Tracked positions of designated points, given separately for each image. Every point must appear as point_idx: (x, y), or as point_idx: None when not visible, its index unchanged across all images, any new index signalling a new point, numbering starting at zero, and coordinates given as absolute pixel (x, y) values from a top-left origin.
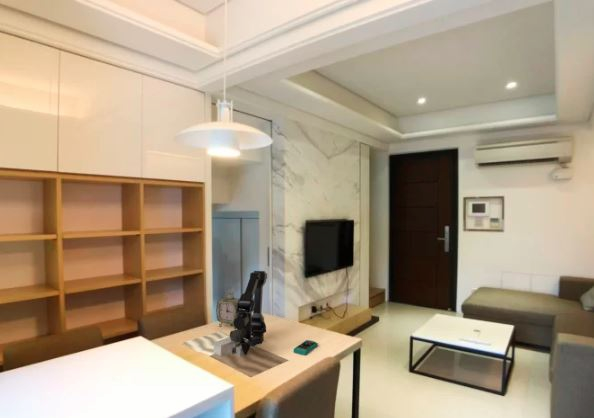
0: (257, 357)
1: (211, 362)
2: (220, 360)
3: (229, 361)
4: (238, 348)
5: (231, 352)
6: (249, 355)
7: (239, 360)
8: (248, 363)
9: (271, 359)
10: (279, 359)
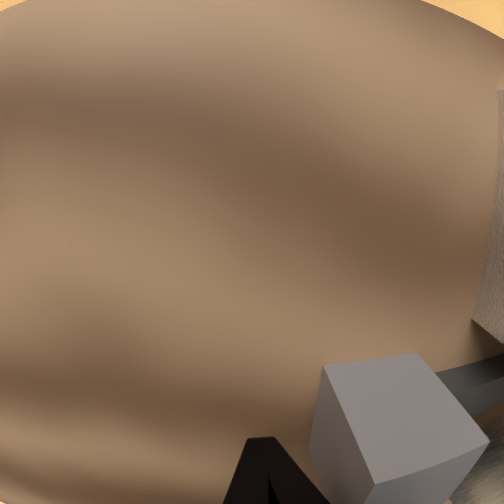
0: (119, 473)
1: (494, 8)
2: (459, 37)
3: (323, 85)
4: (430, 457)
5: (499, 317)
6: None
7: (203, 267)
8: (5, 295)
9: (21, 480)
10: (5, 491)
